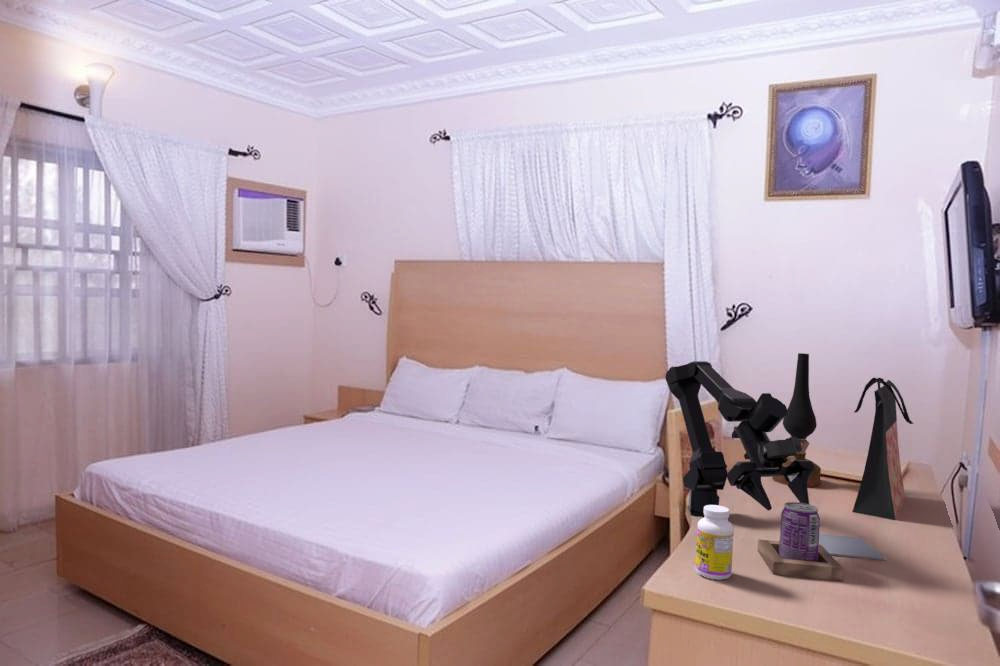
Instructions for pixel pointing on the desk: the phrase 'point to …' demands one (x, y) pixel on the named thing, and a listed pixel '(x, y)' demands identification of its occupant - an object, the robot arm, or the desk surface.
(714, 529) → the supplement bottle
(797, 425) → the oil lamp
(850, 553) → the grey pad
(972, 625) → the desk surface
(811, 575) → the walnut collar
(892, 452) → the gift bag
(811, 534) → the beverage can
